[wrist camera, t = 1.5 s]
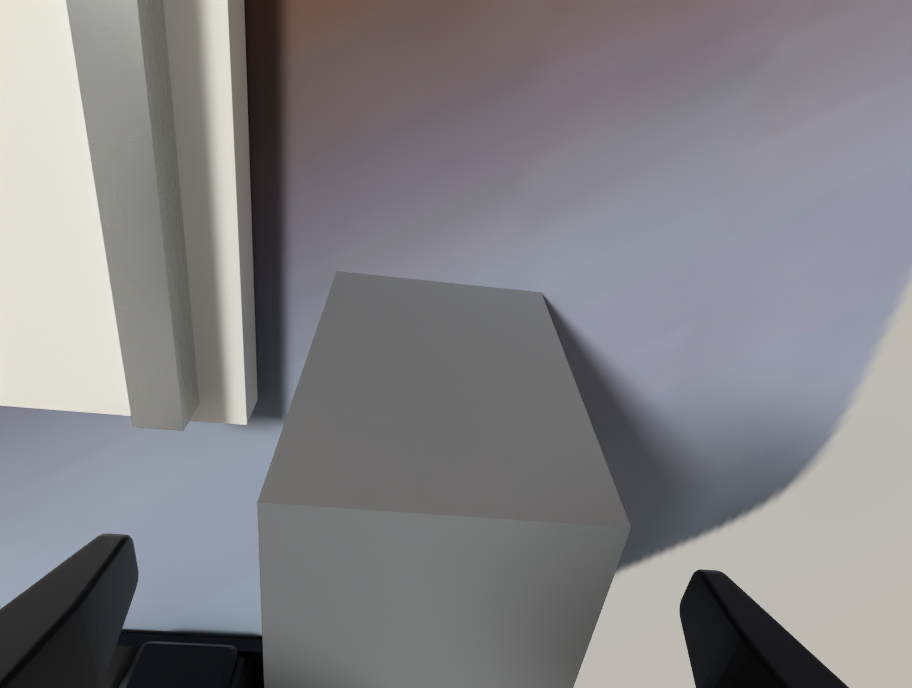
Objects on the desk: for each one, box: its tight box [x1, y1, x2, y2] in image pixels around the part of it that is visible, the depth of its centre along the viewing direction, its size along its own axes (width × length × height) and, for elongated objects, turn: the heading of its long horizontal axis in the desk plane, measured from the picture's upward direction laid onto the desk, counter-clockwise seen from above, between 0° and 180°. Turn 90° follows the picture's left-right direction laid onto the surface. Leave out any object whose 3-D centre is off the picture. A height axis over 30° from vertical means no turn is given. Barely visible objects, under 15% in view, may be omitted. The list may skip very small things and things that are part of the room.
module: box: [257, 271, 631, 688], centre depth 12 cm, size 5×4×7 cm
